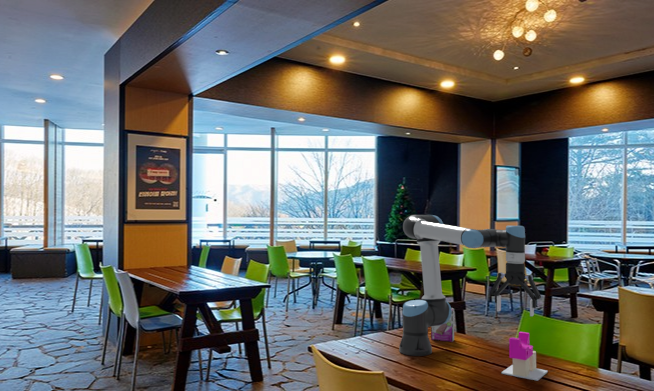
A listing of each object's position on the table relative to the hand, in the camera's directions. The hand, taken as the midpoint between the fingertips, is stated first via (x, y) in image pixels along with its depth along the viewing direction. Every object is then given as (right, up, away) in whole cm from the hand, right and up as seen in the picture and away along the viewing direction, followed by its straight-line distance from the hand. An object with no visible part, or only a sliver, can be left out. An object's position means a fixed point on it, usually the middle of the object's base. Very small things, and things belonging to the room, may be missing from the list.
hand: (515, 313), depth 207 cm
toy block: (+1, -16, -6) cm, 17 cm away
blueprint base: (+2, -23, -5) cm, 24 cm away
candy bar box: (-19, -26, +49) cm, 58 cm away
